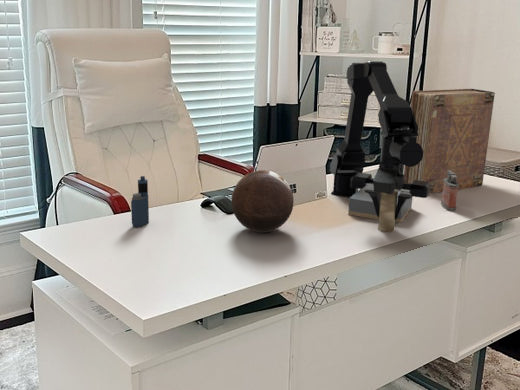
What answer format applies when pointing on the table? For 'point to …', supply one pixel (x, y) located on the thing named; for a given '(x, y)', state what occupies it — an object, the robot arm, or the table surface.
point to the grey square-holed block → (372, 206)
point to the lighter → (450, 192)
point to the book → (451, 136)
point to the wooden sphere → (262, 201)
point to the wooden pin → (387, 212)
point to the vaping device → (140, 204)
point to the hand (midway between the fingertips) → (387, 217)
